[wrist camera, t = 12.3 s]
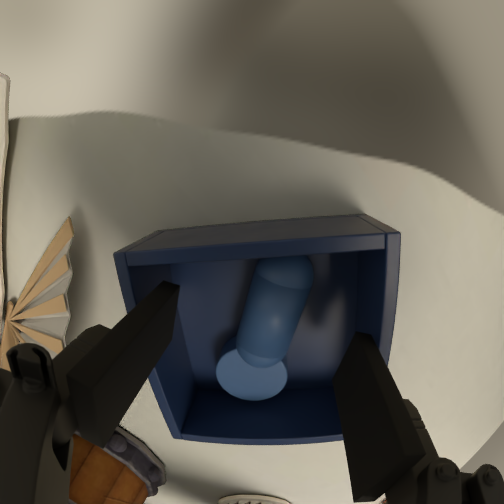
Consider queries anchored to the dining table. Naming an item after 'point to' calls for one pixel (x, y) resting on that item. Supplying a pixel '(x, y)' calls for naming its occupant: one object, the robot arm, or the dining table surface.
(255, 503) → the decorative candle
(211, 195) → the dining table surface
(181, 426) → the blue bin
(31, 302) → the hand fan
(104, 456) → the mug
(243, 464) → the dining table surface
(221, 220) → the dining table surface
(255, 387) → the blue spoon
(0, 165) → the bowl
